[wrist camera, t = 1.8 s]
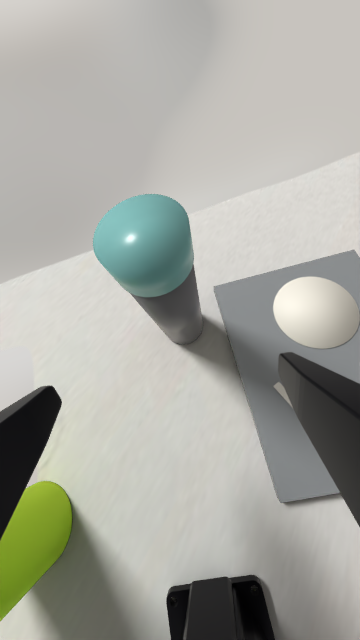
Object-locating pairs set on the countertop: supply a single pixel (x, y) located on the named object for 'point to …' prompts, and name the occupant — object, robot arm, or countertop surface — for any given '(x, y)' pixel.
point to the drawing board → (298, 337)
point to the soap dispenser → (32, 540)
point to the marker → (153, 261)
